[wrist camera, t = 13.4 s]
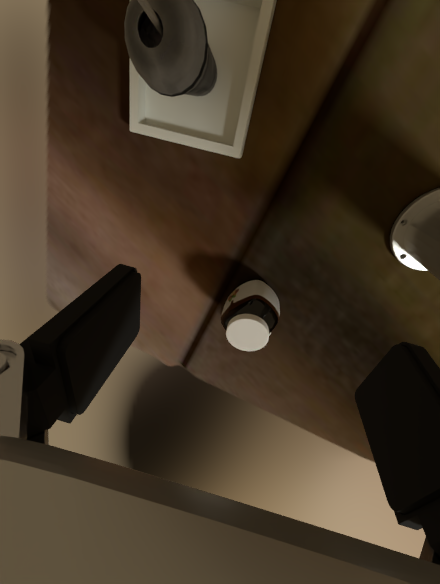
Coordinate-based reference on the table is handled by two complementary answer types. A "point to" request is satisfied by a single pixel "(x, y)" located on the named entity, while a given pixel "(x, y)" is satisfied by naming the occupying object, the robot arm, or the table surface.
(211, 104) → the walled tray
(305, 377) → the table surface
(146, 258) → the table surface
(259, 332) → the spread jar
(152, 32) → the beverage cup
